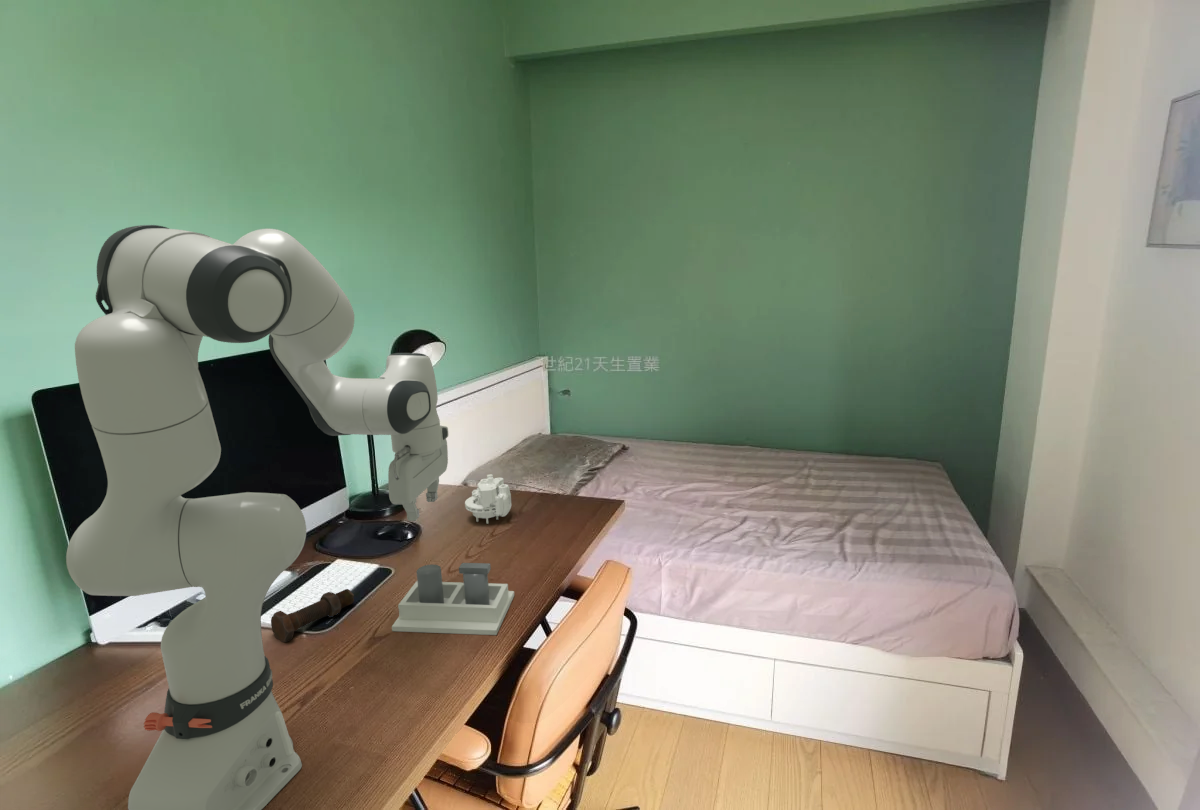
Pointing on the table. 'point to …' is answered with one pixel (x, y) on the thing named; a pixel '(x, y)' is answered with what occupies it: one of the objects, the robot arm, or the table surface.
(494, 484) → the mechanical part
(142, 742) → the table surface
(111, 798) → the table surface
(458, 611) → the housing
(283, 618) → the bolt
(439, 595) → the grey upright cylinder
